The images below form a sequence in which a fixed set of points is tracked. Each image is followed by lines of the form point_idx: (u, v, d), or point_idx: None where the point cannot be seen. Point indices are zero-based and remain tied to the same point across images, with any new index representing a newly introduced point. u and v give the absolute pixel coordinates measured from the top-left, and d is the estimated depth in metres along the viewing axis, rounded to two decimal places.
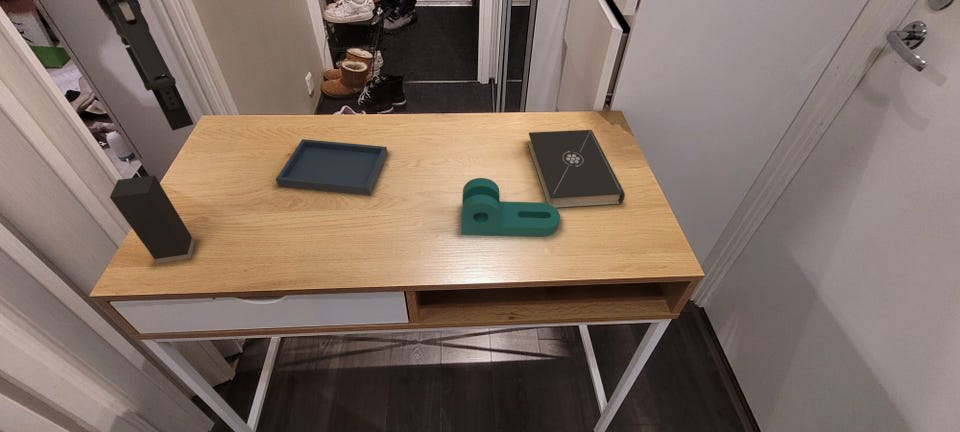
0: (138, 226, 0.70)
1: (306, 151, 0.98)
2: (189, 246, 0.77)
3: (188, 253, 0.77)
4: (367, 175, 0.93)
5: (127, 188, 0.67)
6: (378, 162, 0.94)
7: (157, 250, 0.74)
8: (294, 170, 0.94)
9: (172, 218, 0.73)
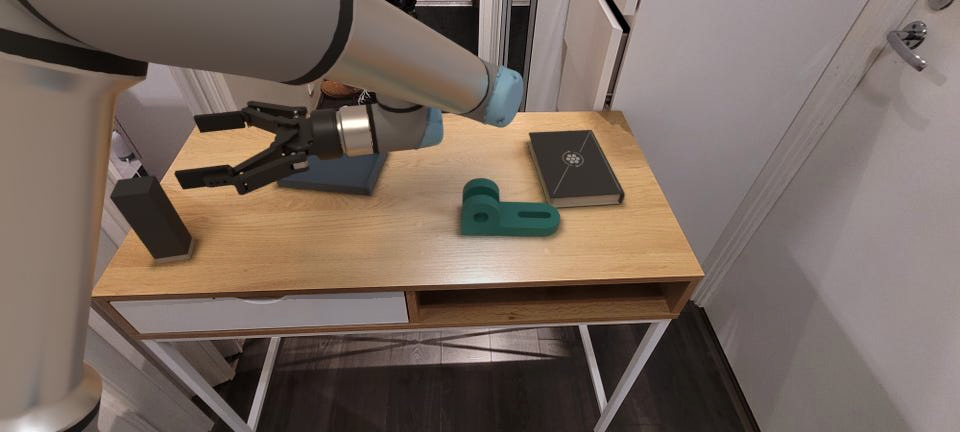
0: (138, 226, 0.70)
1: None
2: (189, 246, 0.77)
3: (188, 253, 0.77)
4: (367, 175, 0.93)
5: (127, 188, 0.67)
6: (378, 162, 0.94)
7: (157, 250, 0.74)
8: None
9: (172, 218, 0.73)
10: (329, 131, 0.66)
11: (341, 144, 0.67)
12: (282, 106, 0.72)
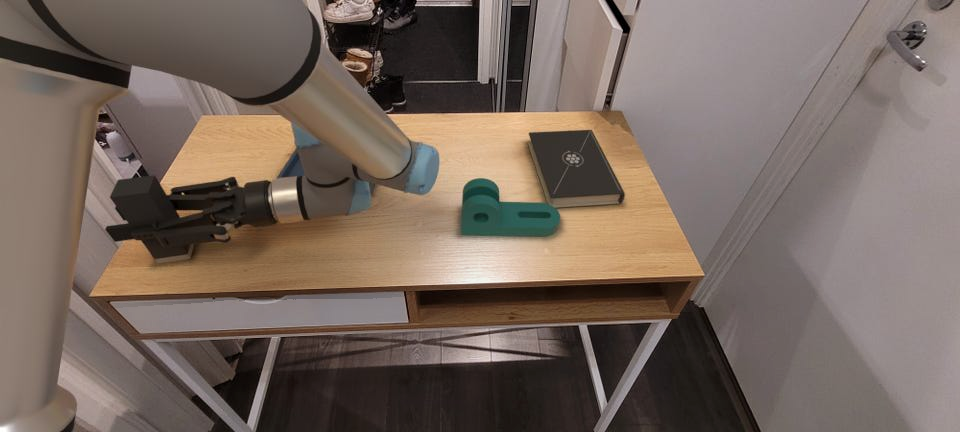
0: None
1: None
2: (189, 246, 0.77)
3: (188, 253, 0.77)
4: None
5: (127, 188, 0.67)
6: None
7: (157, 250, 0.74)
8: (294, 170, 0.94)
9: (172, 218, 0.73)
10: (260, 204, 0.72)
11: (272, 214, 0.73)
12: (209, 183, 0.77)
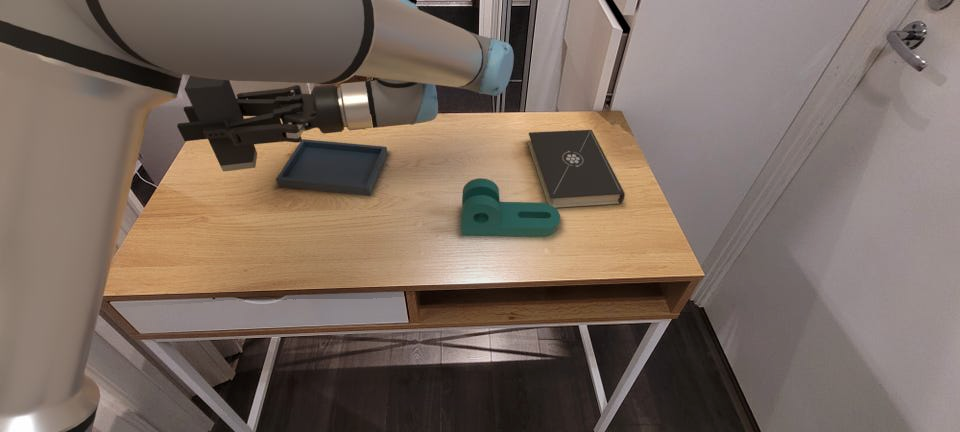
0: None
1: (306, 151, 0.98)
2: (253, 155, 0.76)
3: (253, 161, 0.75)
4: (367, 175, 0.93)
5: (200, 82, 0.66)
6: (378, 162, 0.94)
7: (224, 155, 0.73)
8: (294, 170, 0.94)
9: None
10: (330, 105, 0.71)
11: (342, 117, 0.72)
12: (275, 90, 0.75)
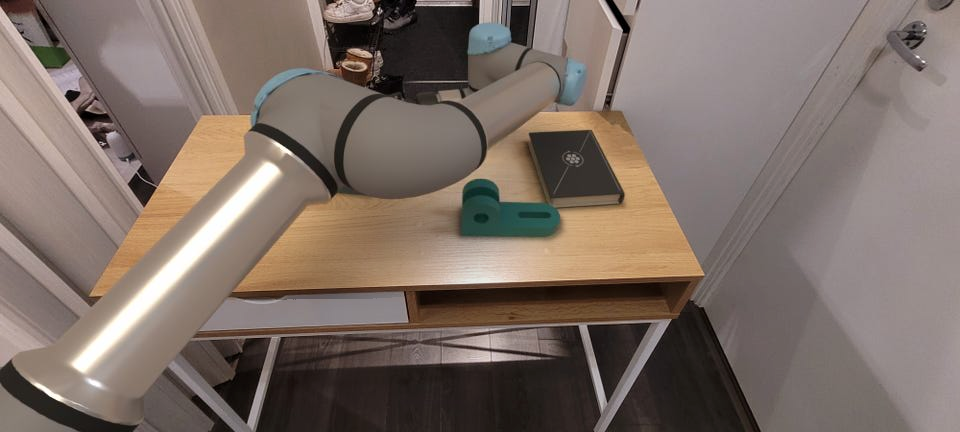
0: None
1: None
2: None
3: None
4: None
5: None
6: None
7: None
8: None
9: None
10: None
11: None
12: None
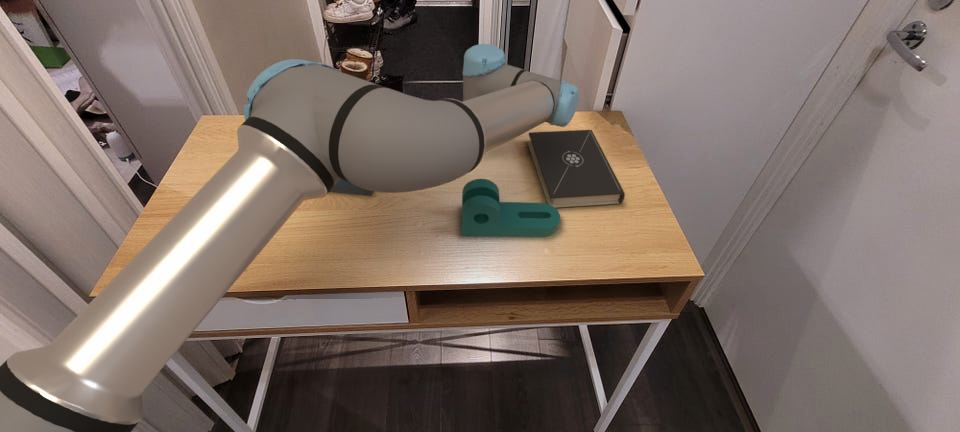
0: None
1: None
2: None
3: None
4: None
5: None
6: None
7: None
8: None
9: None
10: None
11: None
12: None
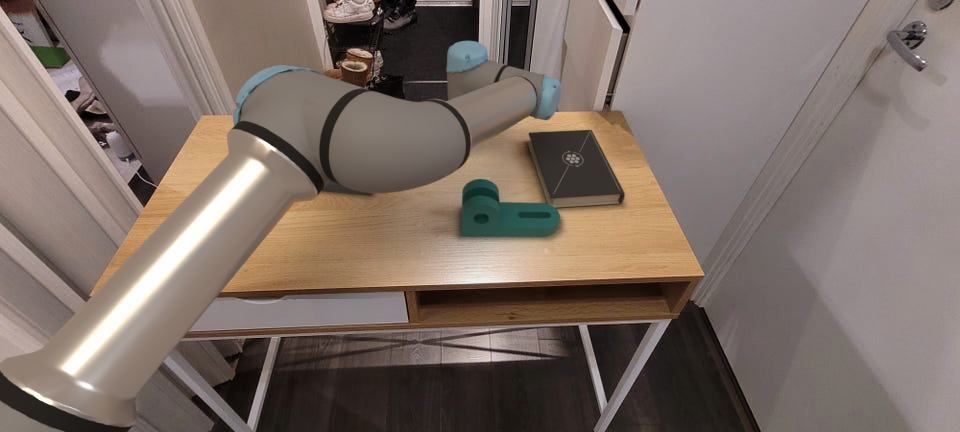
0: None
1: None
2: None
3: None
4: None
5: None
6: None
7: None
8: None
9: None
10: None
11: None
12: None
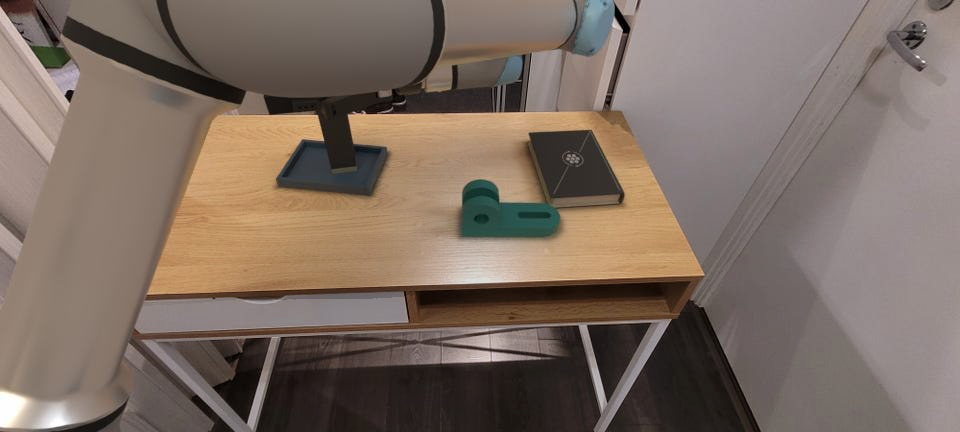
0: (328, 138, 0.87)
1: (306, 151, 0.98)
2: (355, 160, 0.95)
3: (356, 166, 0.94)
4: (367, 175, 0.93)
5: None
6: (378, 162, 0.94)
7: (336, 161, 0.91)
8: (294, 170, 0.94)
9: (350, 133, 0.90)
10: None
11: None
12: None
